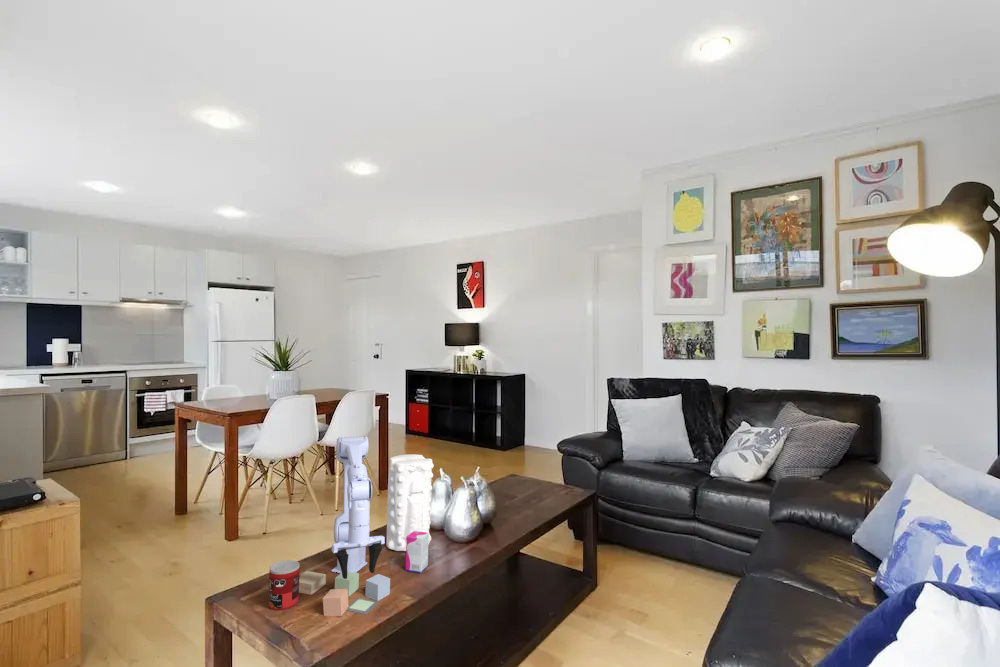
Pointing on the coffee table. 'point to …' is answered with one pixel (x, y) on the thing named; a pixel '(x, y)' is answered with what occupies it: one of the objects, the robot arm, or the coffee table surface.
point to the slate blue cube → (377, 587)
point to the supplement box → (417, 551)
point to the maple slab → (311, 582)
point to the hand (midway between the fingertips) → (358, 574)
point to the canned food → (284, 585)
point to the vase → (408, 498)
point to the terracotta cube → (335, 602)
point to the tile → (362, 606)
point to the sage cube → (348, 582)
